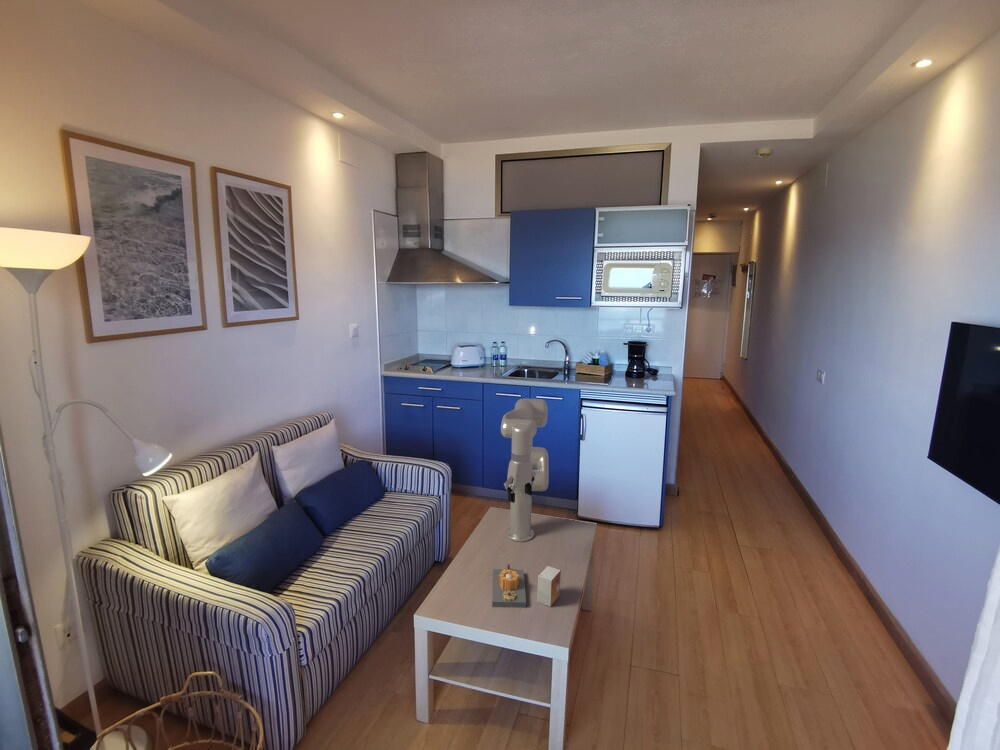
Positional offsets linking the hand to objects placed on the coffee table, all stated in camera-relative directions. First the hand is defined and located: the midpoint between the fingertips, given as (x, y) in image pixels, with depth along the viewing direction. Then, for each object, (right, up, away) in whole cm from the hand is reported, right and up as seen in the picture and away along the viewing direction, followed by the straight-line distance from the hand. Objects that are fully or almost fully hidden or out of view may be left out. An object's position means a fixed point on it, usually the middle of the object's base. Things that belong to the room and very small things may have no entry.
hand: (519, 497), depth 193 cm
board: (-5, -32, -8) cm, 34 cm away
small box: (+10, -34, -13) cm, 38 cm away
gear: (-4, -30, -9) cm, 32 cm away
